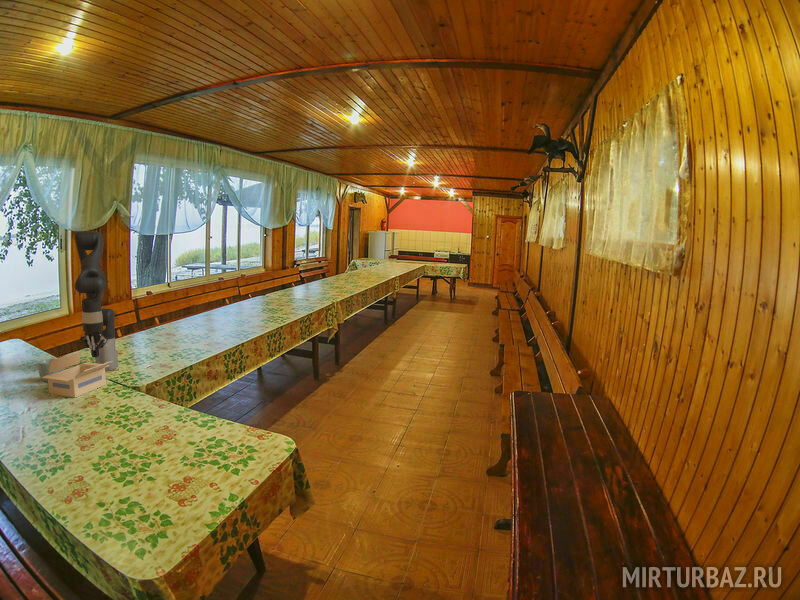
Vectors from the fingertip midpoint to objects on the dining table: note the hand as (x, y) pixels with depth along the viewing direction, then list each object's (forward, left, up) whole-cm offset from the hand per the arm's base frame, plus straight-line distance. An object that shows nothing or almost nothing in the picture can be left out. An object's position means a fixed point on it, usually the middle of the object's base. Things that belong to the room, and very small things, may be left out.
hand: (95, 357), depth 191 cm
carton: (0, -11, -17) cm, 20 cm away
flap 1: (0, -17, -4) cm, 17 cm away
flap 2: (0, -1, -6) cm, 6 cm away
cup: (-5, -33, -18) cm, 37 cm away
